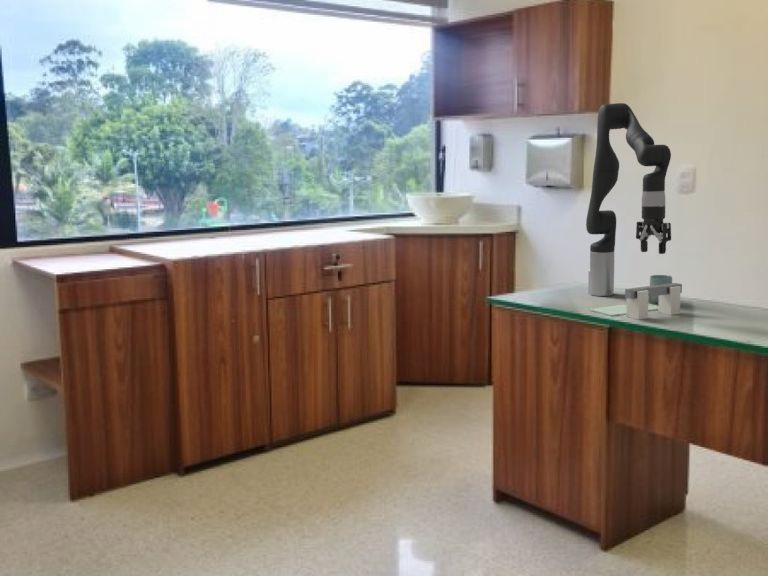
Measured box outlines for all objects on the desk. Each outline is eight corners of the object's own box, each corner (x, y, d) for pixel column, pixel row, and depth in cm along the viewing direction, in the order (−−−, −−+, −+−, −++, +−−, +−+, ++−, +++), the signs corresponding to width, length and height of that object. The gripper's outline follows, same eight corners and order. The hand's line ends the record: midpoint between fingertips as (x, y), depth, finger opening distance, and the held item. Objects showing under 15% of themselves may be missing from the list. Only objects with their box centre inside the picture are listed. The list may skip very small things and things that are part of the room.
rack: (626, 316, 264) (626, 289, 262) (667, 310, 271) (667, 284, 269) (638, 319, 258) (639, 291, 257) (679, 313, 265) (680, 286, 263)
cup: (673, 305, 280) (674, 278, 278) (650, 305, 282) (651, 278, 280) (669, 301, 287) (670, 274, 286) (648, 301, 289) (648, 274, 287)
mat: (589, 310, 276) (589, 309, 276) (642, 303, 285) (642, 302, 285) (611, 316, 265) (611, 314, 265) (665, 308, 274) (665, 307, 274)
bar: (625, 297, 260) (625, 289, 260) (675, 291, 269) (675, 282, 268) (631, 299, 258) (631, 290, 257) (681, 292, 266) (681, 284, 266)
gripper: (630, 205, 264) (629, 252, 266) (659, 205, 251) (659, 255, 253) (647, 204, 267) (647, 250, 269) (677, 204, 254) (676, 253, 256)
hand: (653, 252), depth 261 cm, fingers open, 8 cm apart
